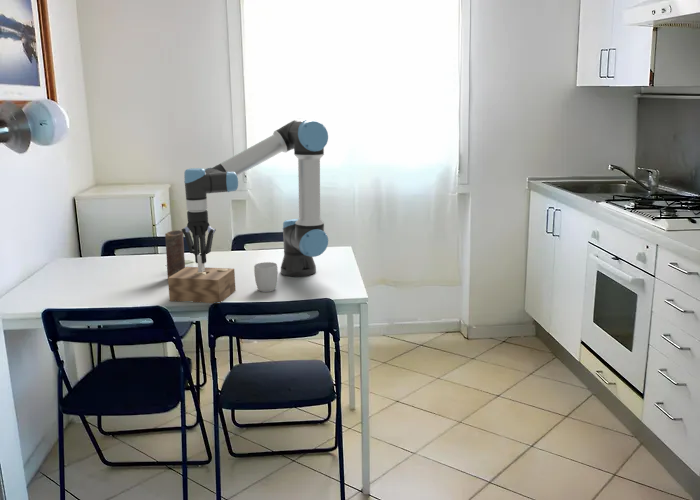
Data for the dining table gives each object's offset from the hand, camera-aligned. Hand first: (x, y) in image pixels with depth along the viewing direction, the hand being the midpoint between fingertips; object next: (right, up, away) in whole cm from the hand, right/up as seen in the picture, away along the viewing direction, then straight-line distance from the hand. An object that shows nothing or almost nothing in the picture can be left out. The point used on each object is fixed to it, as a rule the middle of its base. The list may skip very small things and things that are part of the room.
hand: (201, 271), depth 256 cm
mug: (+23, -7, +10) cm, 27 cm away
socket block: (0, -9, +2) cm, 10 cm away
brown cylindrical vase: (-16, -4, +27) cm, 31 cm away
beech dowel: (0, -9, +2) cm, 10 cm away
